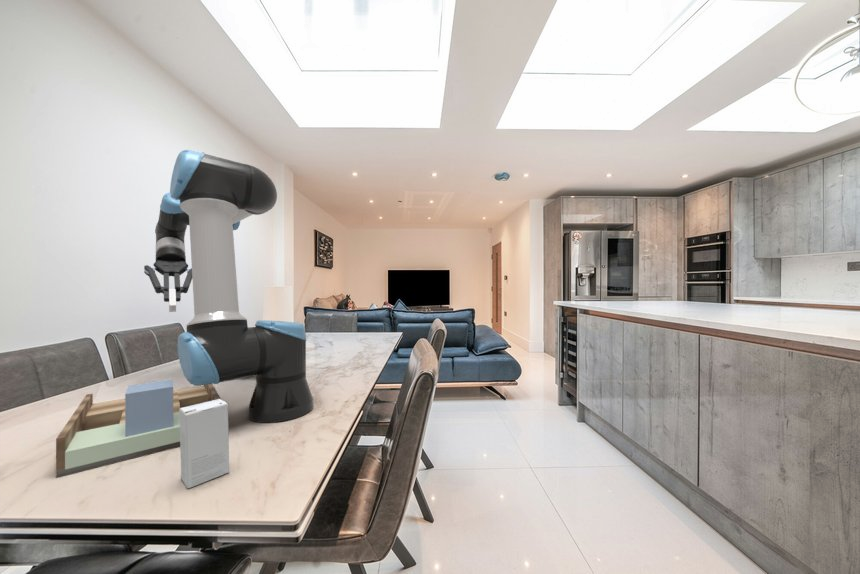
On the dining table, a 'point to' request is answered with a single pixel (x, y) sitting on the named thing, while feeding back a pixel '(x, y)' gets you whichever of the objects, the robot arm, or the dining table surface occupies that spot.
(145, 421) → the slate block
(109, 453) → the pad
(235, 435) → the dining table surface
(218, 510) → the dining table surface
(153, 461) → the dining table surface
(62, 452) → the box
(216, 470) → the skincare box
